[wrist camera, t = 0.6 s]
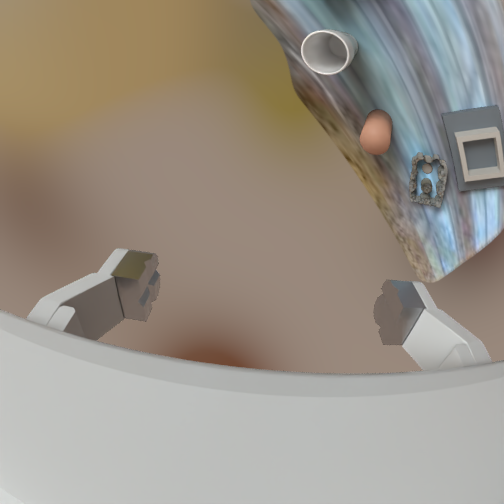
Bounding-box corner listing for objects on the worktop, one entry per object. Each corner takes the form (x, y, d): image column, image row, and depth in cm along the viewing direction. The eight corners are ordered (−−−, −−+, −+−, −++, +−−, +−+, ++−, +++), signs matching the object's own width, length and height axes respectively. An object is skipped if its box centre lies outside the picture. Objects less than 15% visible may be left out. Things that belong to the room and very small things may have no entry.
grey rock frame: (412, 148, 48) (412, 157, 45) (447, 155, 45) (449, 164, 42) (407, 194, 55) (406, 204, 53) (439, 200, 52) (440, 211, 49)
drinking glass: (357, 67, 42) (342, 82, 33) (321, 55, 43) (295, 67, 34) (366, 35, 36) (355, 39, 28) (329, 23, 38) (305, 24, 29)
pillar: (386, 106, 44) (383, 123, 39) (395, 130, 47) (393, 151, 41) (362, 113, 48) (355, 130, 42) (372, 136, 50) (366, 157, 44)
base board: (496, 105, 32) (502, 111, 29) (507, 181, 39) (512, 191, 37) (441, 113, 40) (443, 120, 37) (458, 187, 47) (460, 198, 45)
